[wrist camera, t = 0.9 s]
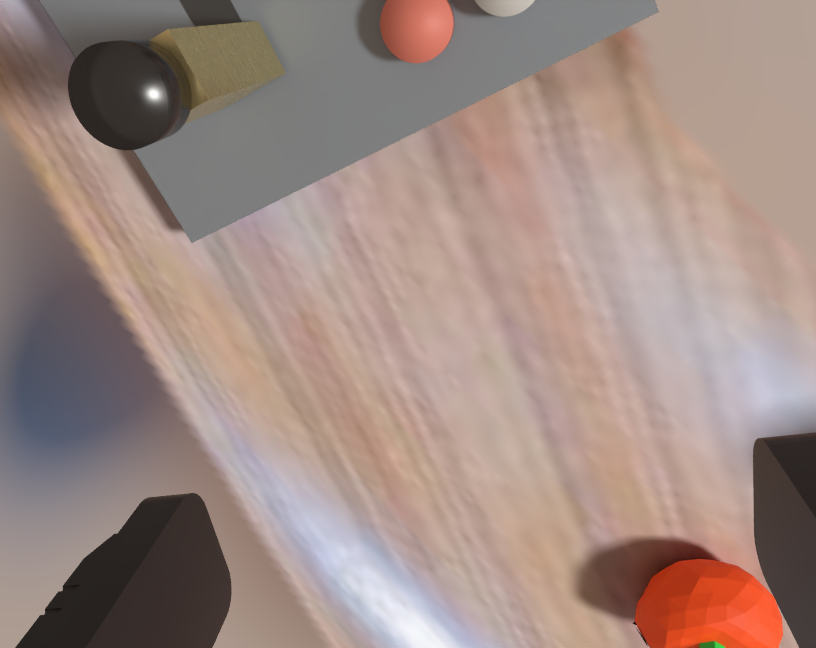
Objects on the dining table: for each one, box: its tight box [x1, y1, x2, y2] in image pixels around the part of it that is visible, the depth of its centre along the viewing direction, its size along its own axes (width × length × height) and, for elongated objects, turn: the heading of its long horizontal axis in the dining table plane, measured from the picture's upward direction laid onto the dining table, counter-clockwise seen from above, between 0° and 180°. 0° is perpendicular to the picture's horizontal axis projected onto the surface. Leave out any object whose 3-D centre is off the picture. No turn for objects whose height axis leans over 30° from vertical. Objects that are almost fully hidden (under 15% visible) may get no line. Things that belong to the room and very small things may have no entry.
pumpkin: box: [633, 559, 783, 648], centre depth 40 cm, size 7×8×6 cm
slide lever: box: [68, 21, 286, 150], centre depth 26 cm, size 4×3×11 cm
